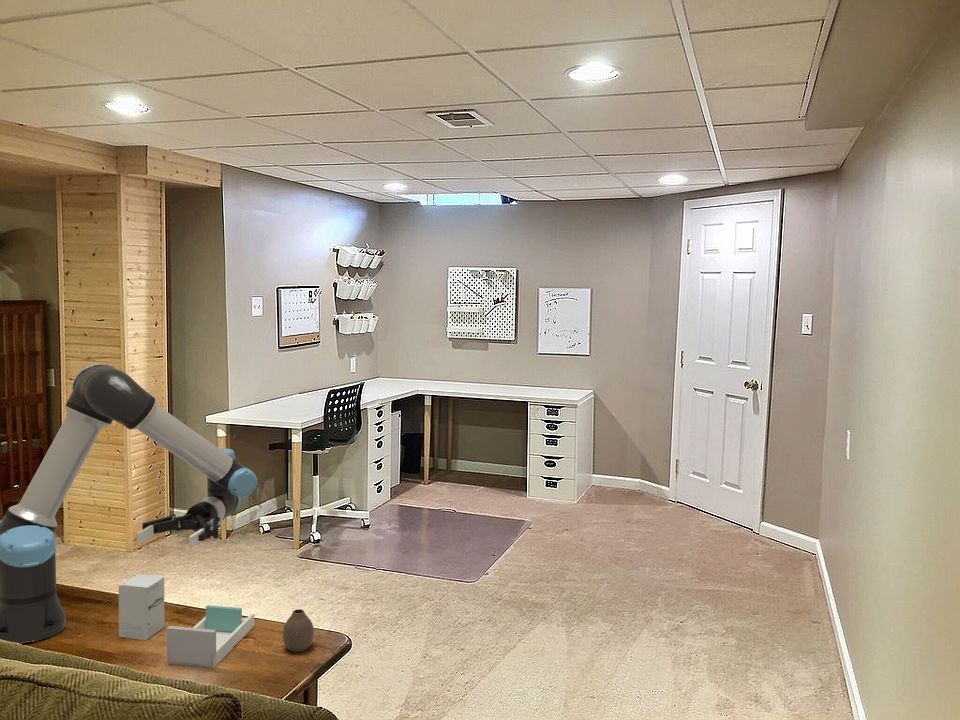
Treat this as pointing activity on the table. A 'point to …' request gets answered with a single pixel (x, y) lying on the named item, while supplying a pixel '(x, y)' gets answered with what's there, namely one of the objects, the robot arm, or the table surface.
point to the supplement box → (141, 606)
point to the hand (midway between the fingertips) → (163, 540)
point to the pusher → (223, 618)
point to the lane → (203, 643)
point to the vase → (298, 631)
